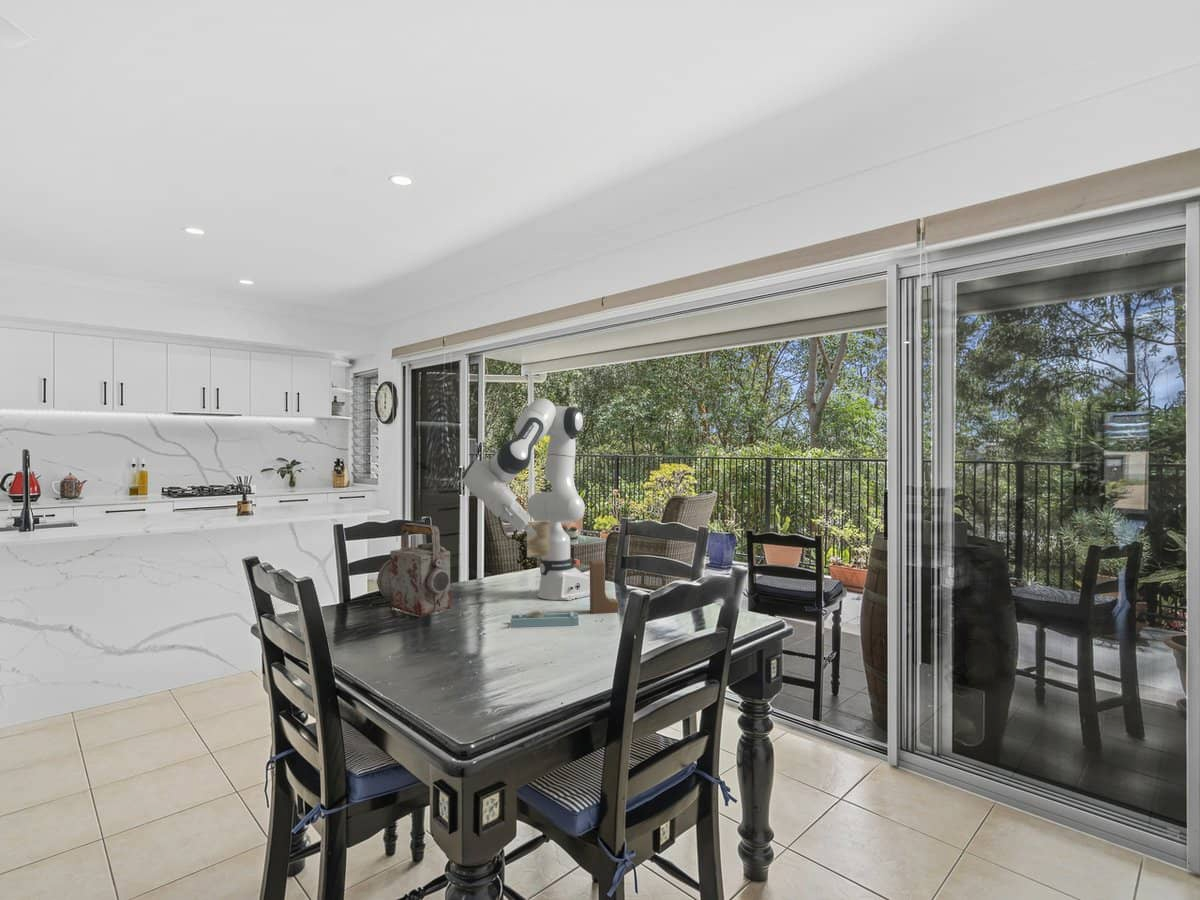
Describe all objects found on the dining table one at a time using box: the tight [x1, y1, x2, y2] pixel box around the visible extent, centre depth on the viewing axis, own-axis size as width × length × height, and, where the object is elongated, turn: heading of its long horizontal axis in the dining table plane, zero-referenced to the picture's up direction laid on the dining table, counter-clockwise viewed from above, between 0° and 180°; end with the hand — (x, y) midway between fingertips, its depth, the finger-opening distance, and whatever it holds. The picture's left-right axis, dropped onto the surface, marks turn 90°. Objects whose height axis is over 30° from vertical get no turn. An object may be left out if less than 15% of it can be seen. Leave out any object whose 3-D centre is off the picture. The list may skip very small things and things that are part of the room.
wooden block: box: [589, 559, 619, 615], centre depth 214 cm, size 9×4×18 cm, turn 101°
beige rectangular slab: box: [526, 520, 550, 558], centre depth 199 cm, size 7×2×11 cm, turn 95°
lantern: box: [376, 522, 452, 616], centre depth 222 cm, size 16×27×30 cm, turn 51°
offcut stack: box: [524, 610, 544, 618], centre depth 200 cm, size 6×2×4 cm, turn 94°
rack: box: [508, 611, 581, 630], centre depth 200 cm, size 22×9×4 cm, turn 94°
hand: (535, 534), depth 199 cm, fingers closed on beige rectangular slab, 2 cm apart
